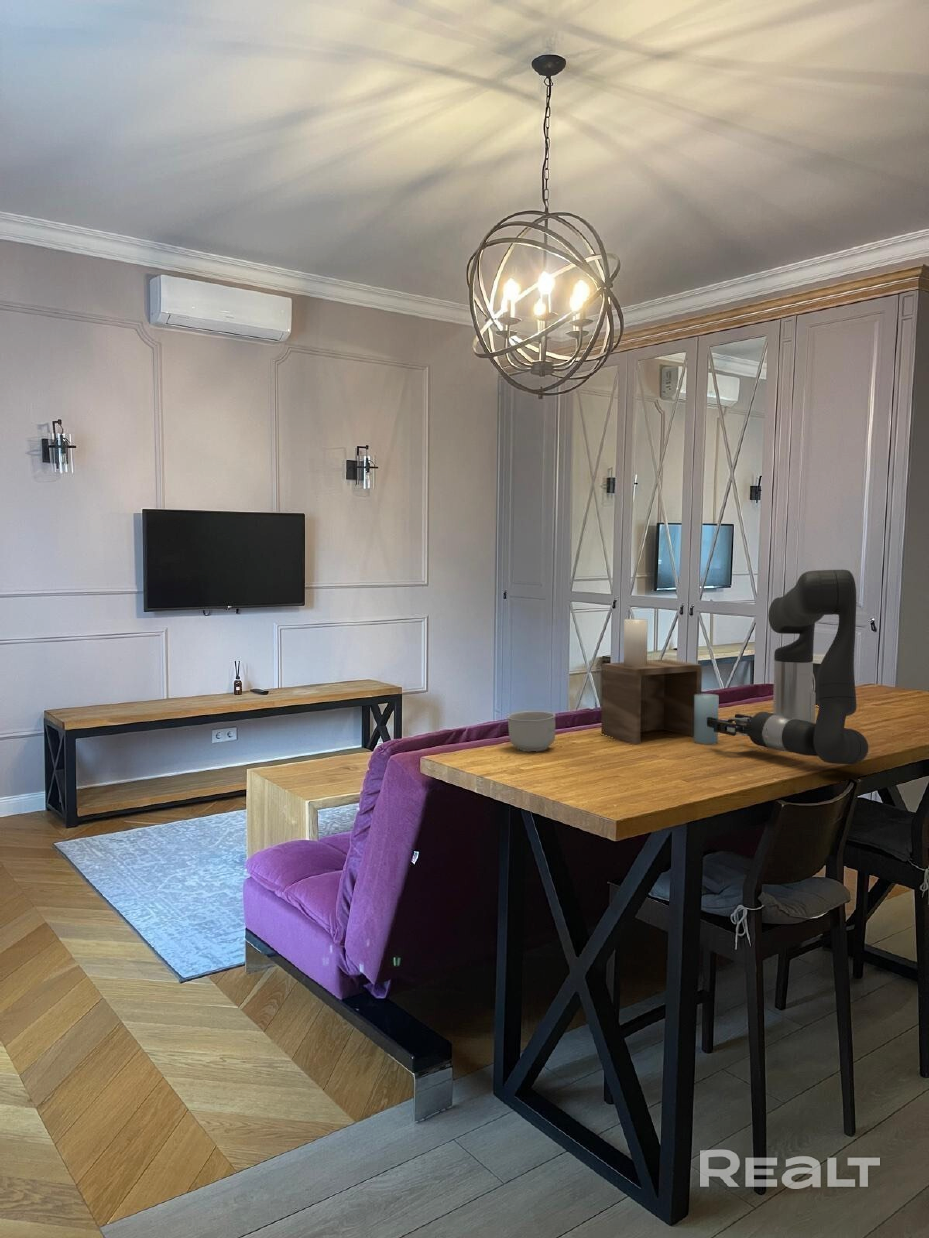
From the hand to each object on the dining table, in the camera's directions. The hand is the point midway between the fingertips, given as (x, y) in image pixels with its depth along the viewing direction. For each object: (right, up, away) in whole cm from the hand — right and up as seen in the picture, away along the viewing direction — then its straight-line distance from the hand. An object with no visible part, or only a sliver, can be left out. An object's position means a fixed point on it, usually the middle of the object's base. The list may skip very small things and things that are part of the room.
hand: (721, 719), depth 208 cm
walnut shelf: (-14, -5, +12) cm, 19 cm away
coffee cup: (+46, -2, +55) cm, 72 cm away
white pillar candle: (-18, +12, +9) cm, 24 cm away
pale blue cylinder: (-2, -6, +5) cm, 8 cm away
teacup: (-44, -6, -1) cm, 45 cm away
